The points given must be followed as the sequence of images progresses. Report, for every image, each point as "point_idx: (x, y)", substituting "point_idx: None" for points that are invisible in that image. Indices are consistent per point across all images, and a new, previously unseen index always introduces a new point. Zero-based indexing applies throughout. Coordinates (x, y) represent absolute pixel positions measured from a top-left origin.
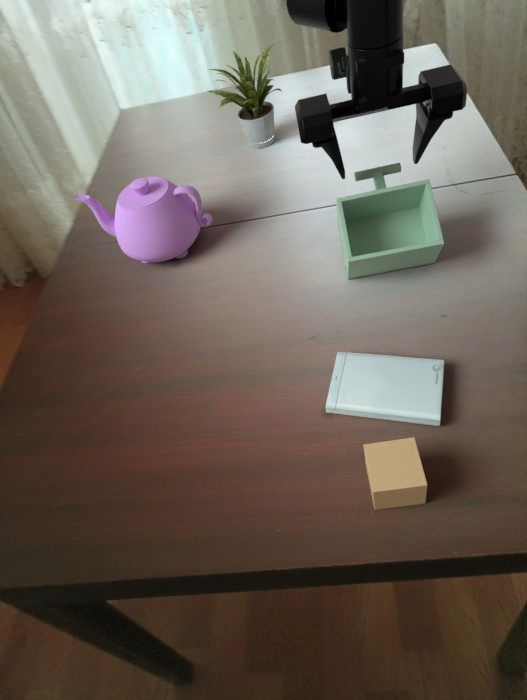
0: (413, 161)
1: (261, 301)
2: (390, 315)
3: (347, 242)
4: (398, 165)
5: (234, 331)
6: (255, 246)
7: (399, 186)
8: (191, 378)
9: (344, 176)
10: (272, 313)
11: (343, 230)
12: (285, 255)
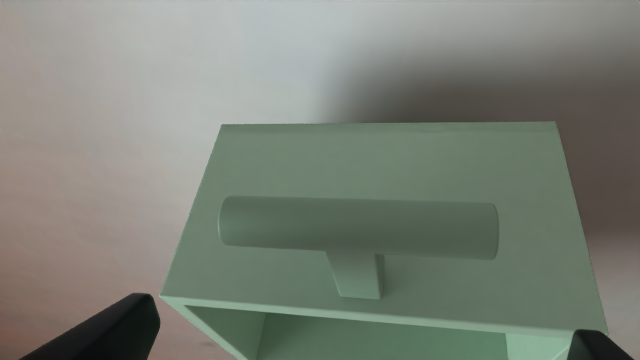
0: (571, 343)
1: (88, 239)
2: None
3: (236, 353)
4: (480, 256)
5: (60, 293)
6: (4, 34)
7: (443, 323)
8: (28, 353)
9: (149, 345)
10: (121, 274)
11: (217, 341)
12: (104, 101)
